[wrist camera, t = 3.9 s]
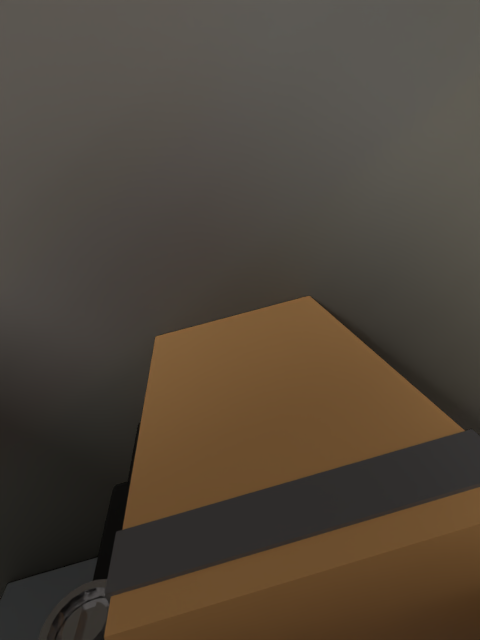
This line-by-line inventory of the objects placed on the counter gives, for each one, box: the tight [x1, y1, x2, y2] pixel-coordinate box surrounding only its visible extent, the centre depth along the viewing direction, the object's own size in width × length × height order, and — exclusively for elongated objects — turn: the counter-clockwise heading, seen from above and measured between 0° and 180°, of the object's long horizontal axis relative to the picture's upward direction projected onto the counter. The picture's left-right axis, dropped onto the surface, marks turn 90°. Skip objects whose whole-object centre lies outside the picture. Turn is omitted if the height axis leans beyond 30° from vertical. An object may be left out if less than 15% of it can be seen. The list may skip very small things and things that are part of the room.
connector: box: [104, 296, 480, 640], centre depth 9 cm, size 6×4×8 cm
